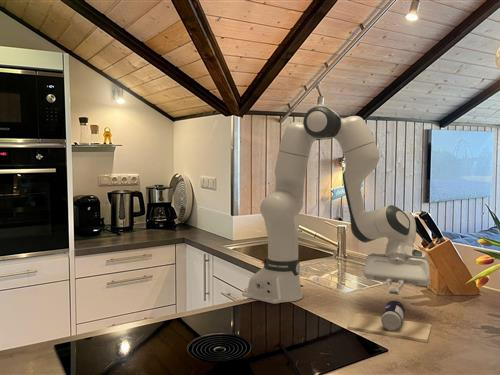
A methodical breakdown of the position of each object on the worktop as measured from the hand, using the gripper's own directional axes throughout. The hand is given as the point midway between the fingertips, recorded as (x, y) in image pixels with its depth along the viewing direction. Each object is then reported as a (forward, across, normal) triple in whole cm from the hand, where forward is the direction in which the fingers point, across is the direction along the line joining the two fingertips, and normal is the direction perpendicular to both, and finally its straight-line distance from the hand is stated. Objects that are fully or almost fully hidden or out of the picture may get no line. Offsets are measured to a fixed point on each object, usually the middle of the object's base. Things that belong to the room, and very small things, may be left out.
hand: (393, 293), depth 134 cm
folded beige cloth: (+11, 0, +1) cm, 11 cm away
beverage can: (+3, 0, +4) cm, 5 cm away
